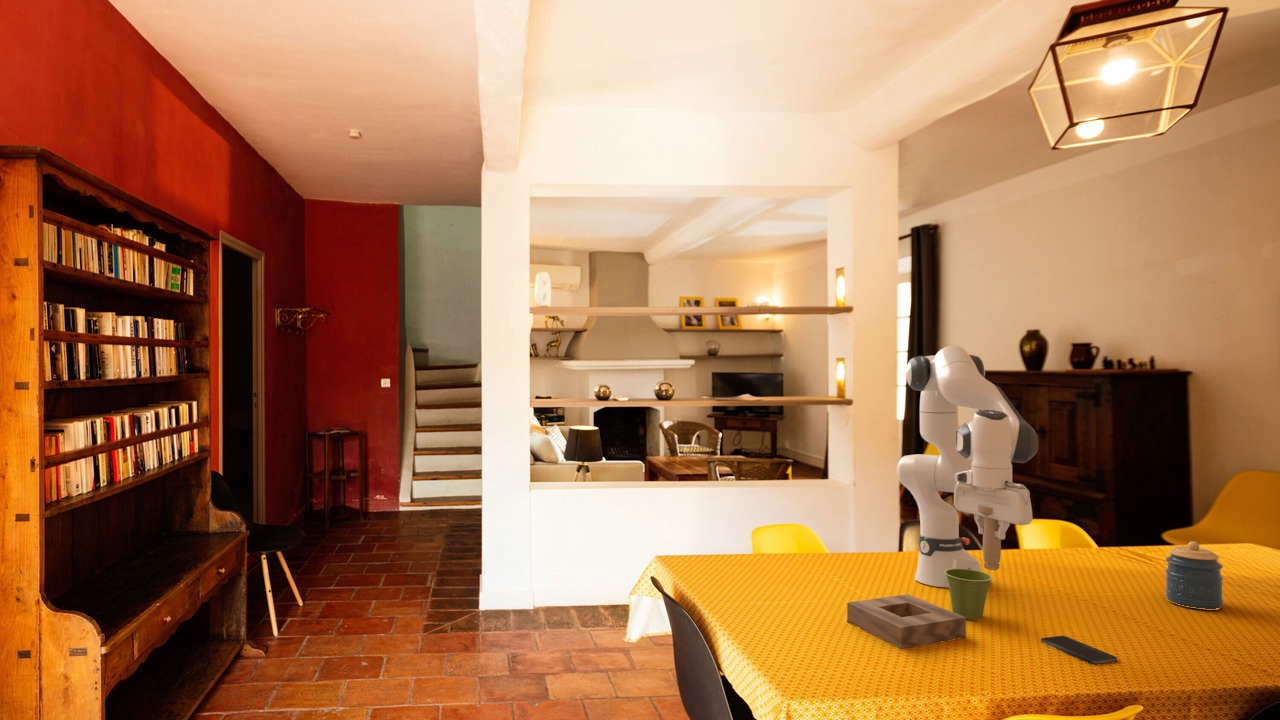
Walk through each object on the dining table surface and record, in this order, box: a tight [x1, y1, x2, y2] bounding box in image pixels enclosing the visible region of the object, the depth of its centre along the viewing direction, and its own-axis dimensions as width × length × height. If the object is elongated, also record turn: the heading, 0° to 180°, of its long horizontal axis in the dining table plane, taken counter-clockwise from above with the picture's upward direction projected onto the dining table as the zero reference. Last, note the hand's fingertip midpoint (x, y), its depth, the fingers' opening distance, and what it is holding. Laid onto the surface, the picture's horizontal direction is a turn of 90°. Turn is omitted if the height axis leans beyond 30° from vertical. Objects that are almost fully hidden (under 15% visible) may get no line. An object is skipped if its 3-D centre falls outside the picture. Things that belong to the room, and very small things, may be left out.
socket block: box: [846, 594, 967, 650], centre depth 187 cm, size 20×20×5 cm
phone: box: [1040, 635, 1118, 666], centre depth 173 cm, size 8×1×15 cm
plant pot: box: [944, 568, 994, 621], centre depth 198 cm, size 12×12×11 cm
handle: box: [978, 505, 1002, 571], centre depth 177 cm, size 5×6×15 cm
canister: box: [1165, 540, 1224, 609], centre depth 209 cm, size 13×13×18 cm
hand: (991, 536), depth 177 cm, fingers closed on handle, 3 cm apart
